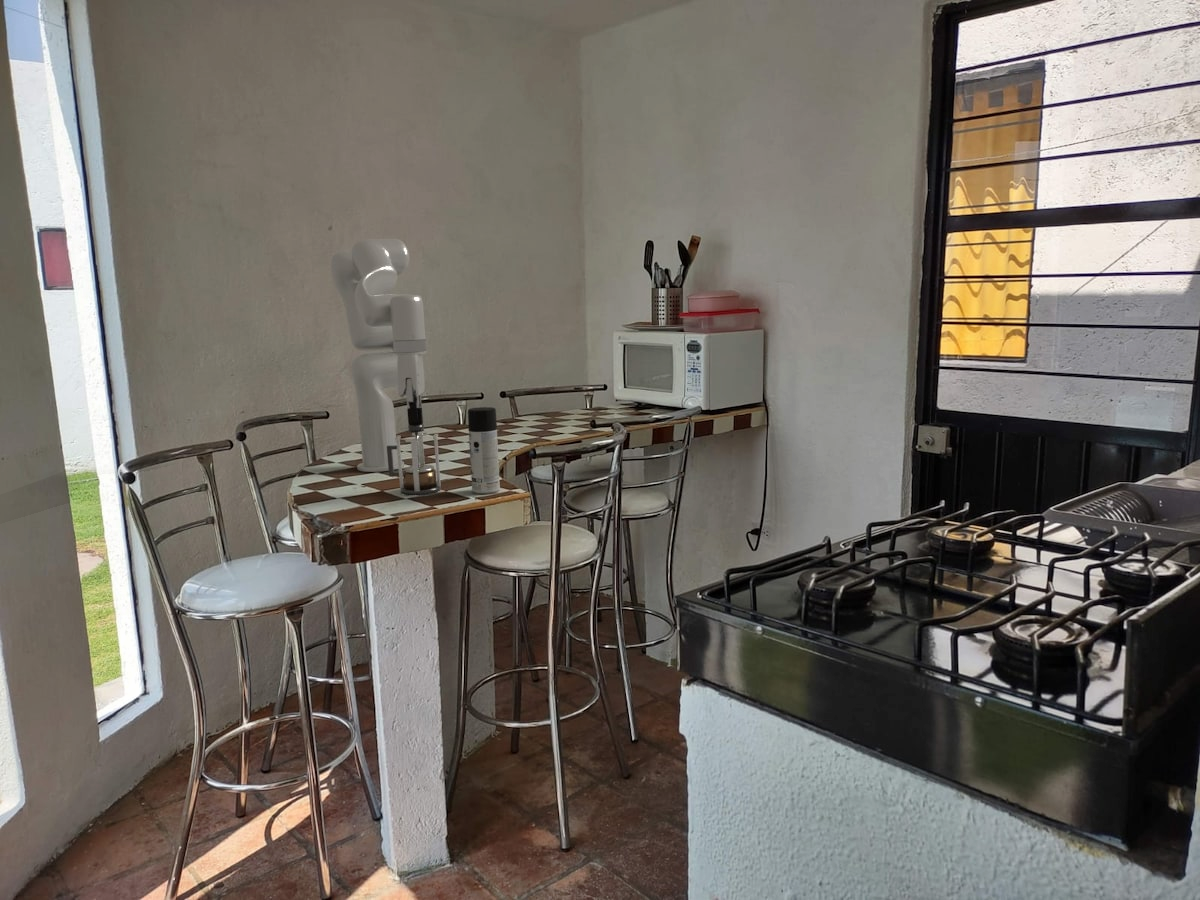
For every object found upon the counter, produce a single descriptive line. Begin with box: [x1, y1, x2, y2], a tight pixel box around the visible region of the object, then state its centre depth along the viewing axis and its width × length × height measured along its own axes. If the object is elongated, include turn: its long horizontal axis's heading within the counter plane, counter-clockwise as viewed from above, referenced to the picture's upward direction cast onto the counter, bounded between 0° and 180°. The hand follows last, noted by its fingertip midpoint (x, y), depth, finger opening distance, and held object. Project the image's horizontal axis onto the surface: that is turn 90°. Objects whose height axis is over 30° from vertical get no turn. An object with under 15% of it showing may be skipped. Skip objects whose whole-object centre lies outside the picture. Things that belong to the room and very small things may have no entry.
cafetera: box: [387, 431, 442, 496], centre depth 210 cm, size 10×12×14 cm
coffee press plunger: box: [403, 423, 435, 473], centre depth 209 cm, size 7×7×11 cm
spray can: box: [467, 406, 501, 495], centre depth 207 cm, size 7×7×20 cm
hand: (415, 424), depth 208 cm, fingers closed
